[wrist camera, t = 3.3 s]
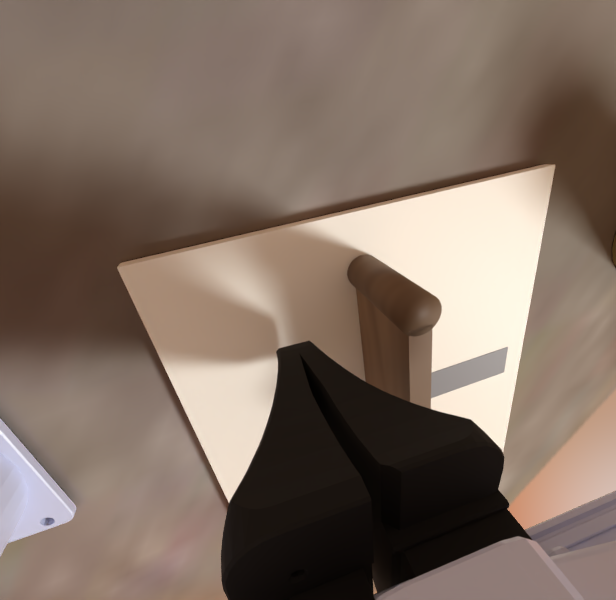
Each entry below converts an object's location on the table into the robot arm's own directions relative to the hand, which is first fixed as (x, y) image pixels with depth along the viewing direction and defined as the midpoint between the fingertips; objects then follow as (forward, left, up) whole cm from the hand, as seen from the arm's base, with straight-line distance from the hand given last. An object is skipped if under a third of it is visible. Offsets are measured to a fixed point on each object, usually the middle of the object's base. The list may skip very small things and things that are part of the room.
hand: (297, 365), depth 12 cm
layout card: (+4, -5, -2) cm, 6 cm away
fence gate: (+4, 0, -1) cm, 4 cm away
